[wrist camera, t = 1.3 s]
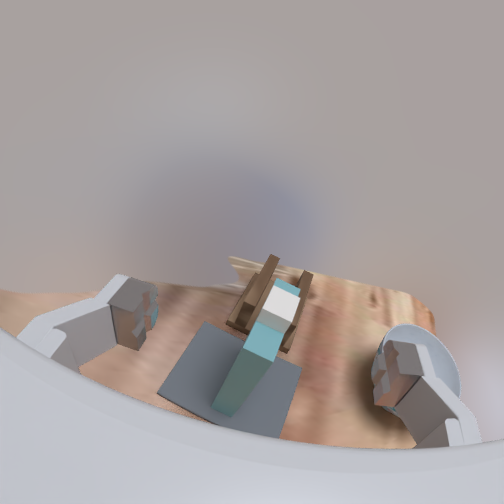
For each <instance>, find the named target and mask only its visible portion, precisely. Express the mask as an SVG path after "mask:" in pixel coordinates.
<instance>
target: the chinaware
mask: <svg viewBox="0 0 504 504" xmlns="http://www.w3.org/2000/svg"><path fill="white" fill-rule="evenodd" d="M388 340H394V341H401V342H407V343H416V344H424V345H425V346H426V347H427V350H428V353H429V356H430V359H431V362H432V365H433V368H434V372H435V375H436V378H440V379H441V380H442V381H443V382H444V383H445V384H446V385H447V386H448V388H449V389H450V390H451V391H452V392H453V393H454V394H455V395H456V396H457V397H458V398H459V399H460V395H461V379H460V374H459V371H458V368H457V365H456V363H455V361H454V359H453V357H452V355H451V354H450V352H449V351H448V349H447V348H446V347H445V346H444V344H443V343H442V342H441V341H440V340H439V339H438V338H437V337H436V336H434V335H433V334H432V333H430V332H429V331H427V330H425V329H424V328H422V327H419V326H416V325H413V324H399V325H396V326H394V327H392V328H391V329H390V330H389V331H388V332H387V334H386V335H385V337H384V338H383V340H382V342H381V344H380V346H379V348H378V350H377V353H376V356H375V359H376V357H377V356H378V355H380V354H381V353H383V352H384V351H383V346H384V345H385V343H386V342H387V341H388ZM375 359H374V361H375ZM373 383H374V382H373ZM375 387H376V385H375V384H374V388H375ZM382 407H383V408H384V409H385V410H386V411H388V412H391V413H392V414H394V415H396V416H397V417H399V418H400V416H399V415H398V413H397V412H396V410H395V407H388V406H382Z"/></svg>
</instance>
